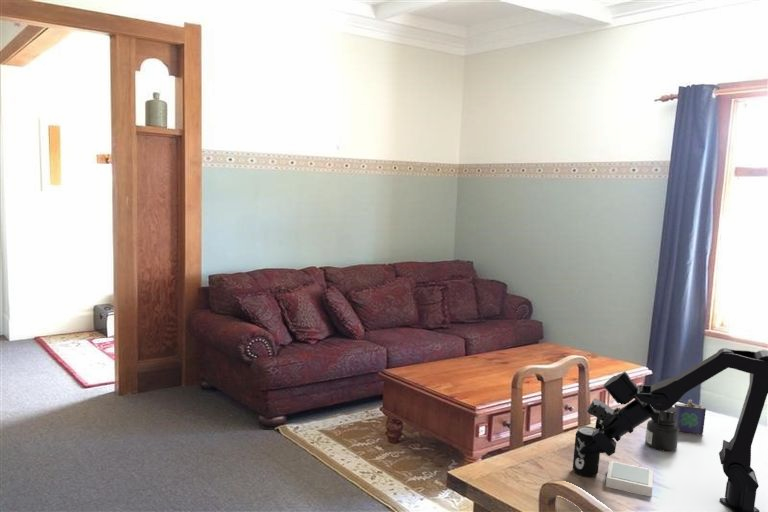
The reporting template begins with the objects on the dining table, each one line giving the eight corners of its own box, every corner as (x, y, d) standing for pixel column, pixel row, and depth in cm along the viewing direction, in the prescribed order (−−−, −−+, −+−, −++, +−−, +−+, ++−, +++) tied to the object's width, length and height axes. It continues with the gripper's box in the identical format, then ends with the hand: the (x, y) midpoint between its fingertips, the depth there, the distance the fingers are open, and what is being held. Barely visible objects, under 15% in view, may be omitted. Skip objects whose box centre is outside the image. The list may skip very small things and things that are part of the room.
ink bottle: (650, 437, 199) (654, 400, 197) (680, 445, 193) (685, 407, 192) (640, 446, 191) (644, 408, 190) (671, 455, 186) (675, 416, 184)
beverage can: (599, 479, 169) (603, 436, 167) (573, 476, 170) (577, 433, 168) (596, 468, 175) (600, 427, 174) (571, 465, 176) (575, 424, 175)
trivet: (652, 478, 171) (653, 469, 171) (651, 496, 161) (652, 487, 160) (609, 469, 175) (609, 460, 175) (605, 486, 165) (606, 476, 165)
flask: (672, 432, 204) (676, 399, 203) (670, 428, 207) (674, 396, 205) (703, 436, 202) (707, 403, 200) (701, 432, 205) (705, 400, 203)
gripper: (611, 382, 176) (566, 412, 182) (605, 403, 159) (556, 436, 165) (638, 415, 174) (593, 444, 180) (635, 439, 157) (585, 471, 163)
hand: (581, 448), depth 172 cm, fingers closed on beverage can, 6 cm apart
